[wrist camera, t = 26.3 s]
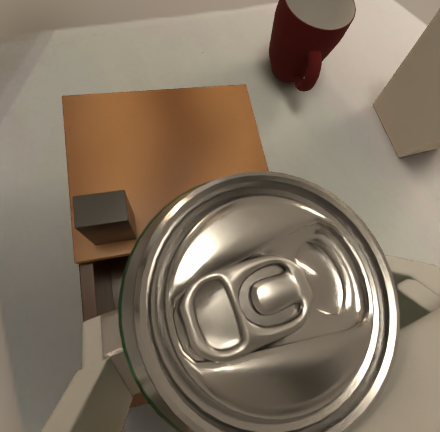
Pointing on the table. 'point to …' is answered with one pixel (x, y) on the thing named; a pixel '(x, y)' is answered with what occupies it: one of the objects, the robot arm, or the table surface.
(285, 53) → the mug
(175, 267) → the soda can
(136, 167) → the sliding lid
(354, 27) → the table surface
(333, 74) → the table surface
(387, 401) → the robot arm
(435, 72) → the soap bottle
